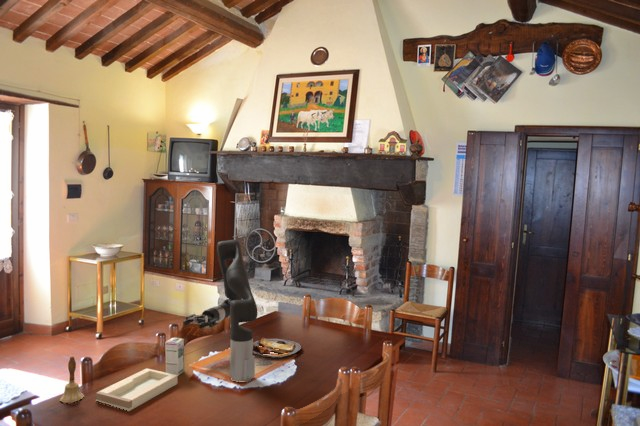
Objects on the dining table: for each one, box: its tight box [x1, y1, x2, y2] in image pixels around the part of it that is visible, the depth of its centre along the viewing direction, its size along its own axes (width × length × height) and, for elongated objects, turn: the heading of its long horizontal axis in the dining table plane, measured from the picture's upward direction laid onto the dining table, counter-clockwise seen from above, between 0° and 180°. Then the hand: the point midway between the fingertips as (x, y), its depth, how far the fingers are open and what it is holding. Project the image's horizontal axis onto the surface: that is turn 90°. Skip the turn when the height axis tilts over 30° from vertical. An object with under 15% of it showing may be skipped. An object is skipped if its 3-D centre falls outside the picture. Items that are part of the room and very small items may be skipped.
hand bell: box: [59, 356, 85, 402], centre depth 187 cm, size 8×8×16 cm
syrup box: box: [164, 337, 185, 377], centre depth 213 cm, size 6×6×14 cm
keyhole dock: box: [95, 367, 178, 412], centre depth 194 cm, size 26×16×4 cm, turn 156°
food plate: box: [253, 337, 302, 358], centre depth 243 cm, size 25×23×4 cm
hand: (191, 325), depth 222 cm, fingers open, 8 cm apart
